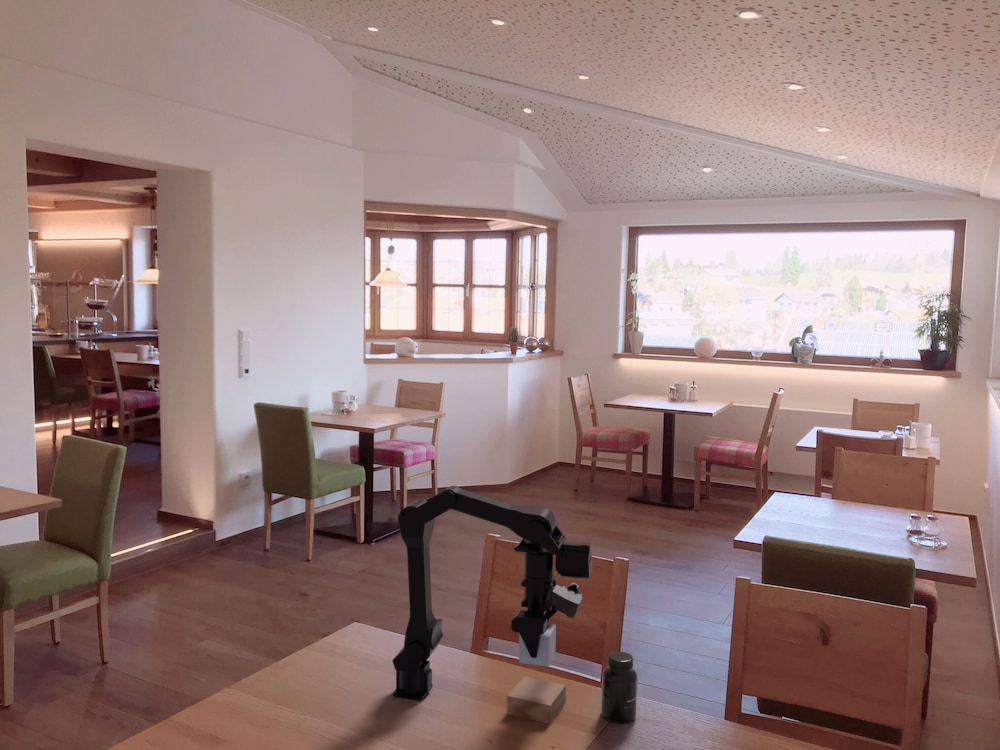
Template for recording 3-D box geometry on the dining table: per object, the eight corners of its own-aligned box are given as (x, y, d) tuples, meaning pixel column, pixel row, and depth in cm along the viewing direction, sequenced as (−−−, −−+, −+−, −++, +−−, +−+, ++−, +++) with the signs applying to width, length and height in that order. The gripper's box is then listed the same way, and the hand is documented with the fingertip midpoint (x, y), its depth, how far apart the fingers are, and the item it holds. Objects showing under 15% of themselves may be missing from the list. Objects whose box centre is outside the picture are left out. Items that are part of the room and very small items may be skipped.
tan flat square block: (506, 715, 157) (507, 695, 156) (524, 695, 165) (524, 676, 165) (550, 725, 153) (550, 705, 153) (565, 704, 161) (565, 685, 161)
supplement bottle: (635, 726, 153) (637, 665, 151) (599, 722, 154) (601, 662, 153) (636, 708, 159) (638, 650, 158) (602, 704, 161) (603, 647, 160)
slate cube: (518, 662, 156) (519, 632, 155) (526, 649, 162) (526, 621, 161) (548, 666, 154) (549, 636, 154) (555, 653, 160) (555, 624, 160)
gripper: (570, 594, 145) (568, 677, 147) (587, 563, 163) (585, 637, 165) (511, 588, 148) (509, 669, 150) (534, 557, 166) (533, 630, 168)
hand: (537, 650), depth 158 cm, fingers closed on slate cube, 6 cm apart
